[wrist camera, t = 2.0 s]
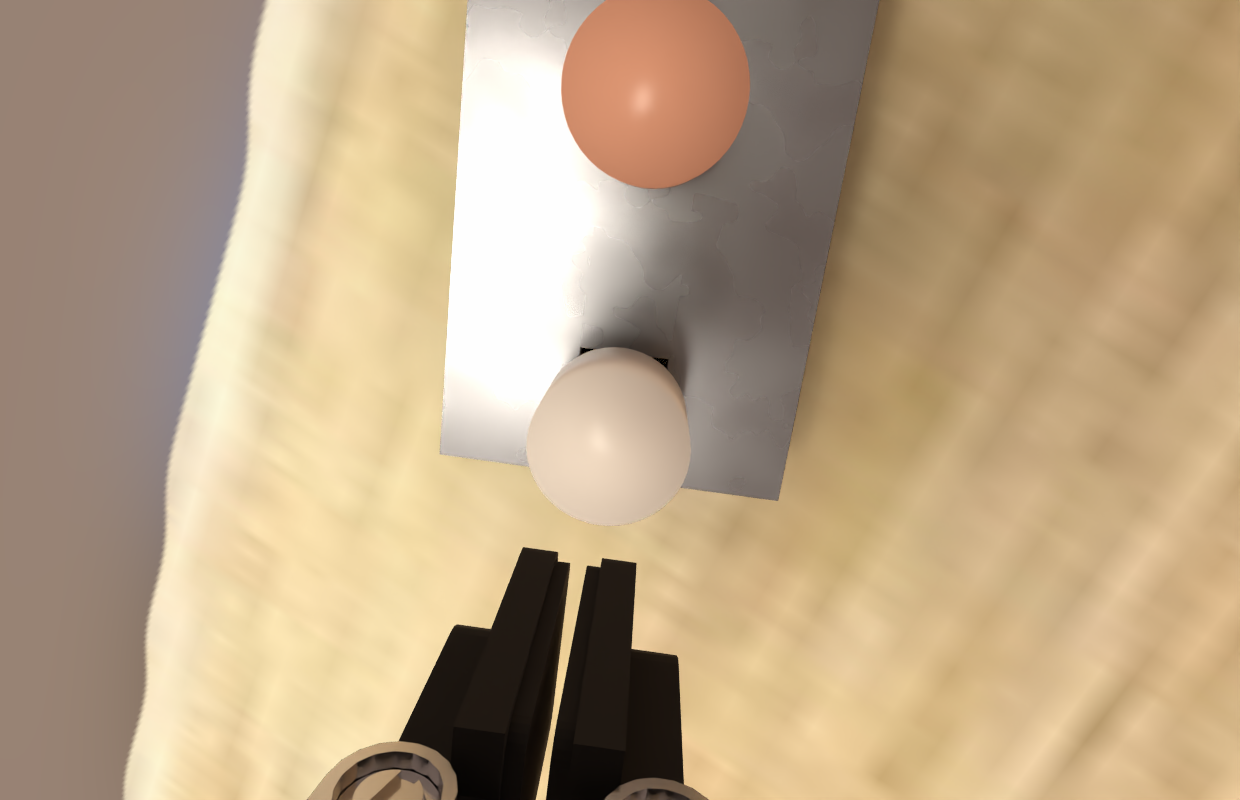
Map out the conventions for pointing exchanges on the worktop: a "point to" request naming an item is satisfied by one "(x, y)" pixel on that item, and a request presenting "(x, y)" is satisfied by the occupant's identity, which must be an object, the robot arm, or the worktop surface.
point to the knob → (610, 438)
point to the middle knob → (655, 89)
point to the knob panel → (647, 237)
